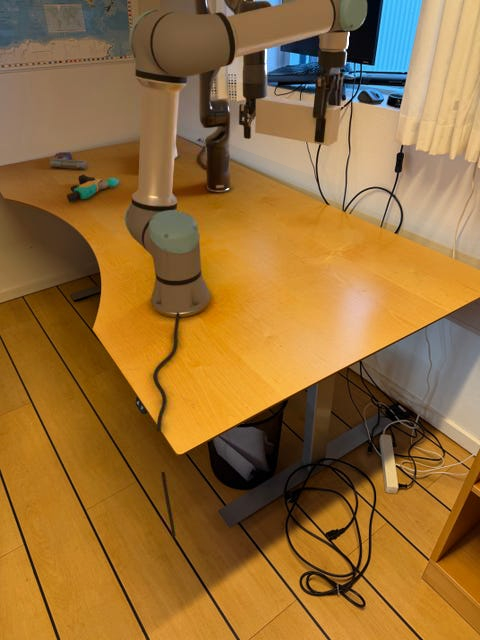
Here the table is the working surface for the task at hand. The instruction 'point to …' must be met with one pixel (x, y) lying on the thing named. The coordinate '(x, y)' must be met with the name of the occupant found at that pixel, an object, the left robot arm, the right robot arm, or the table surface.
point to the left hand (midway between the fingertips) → (324, 139)
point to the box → (294, 120)
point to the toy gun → (66, 161)
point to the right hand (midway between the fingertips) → (254, 135)
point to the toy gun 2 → (90, 187)
